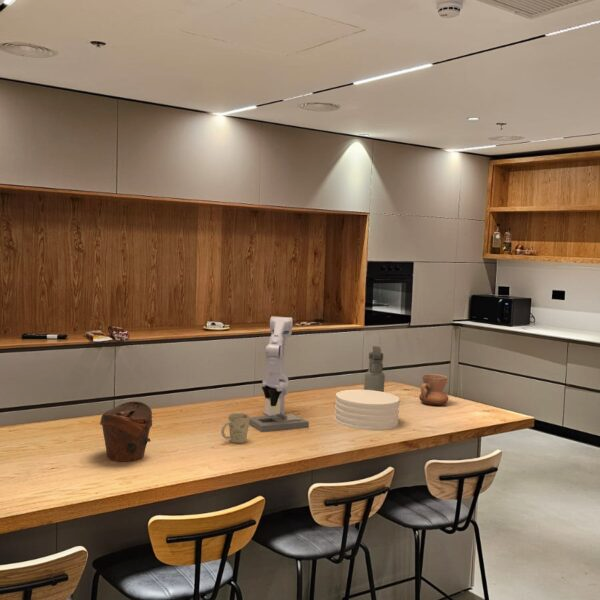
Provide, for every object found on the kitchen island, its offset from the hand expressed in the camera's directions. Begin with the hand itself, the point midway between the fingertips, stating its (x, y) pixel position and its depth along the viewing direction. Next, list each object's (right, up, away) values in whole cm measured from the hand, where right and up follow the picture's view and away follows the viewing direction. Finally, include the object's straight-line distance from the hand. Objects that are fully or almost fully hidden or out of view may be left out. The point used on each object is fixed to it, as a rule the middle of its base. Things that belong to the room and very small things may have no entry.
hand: (271, 404), depth 295 cm
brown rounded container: (-49, -11, -49) cm, 70 cm away
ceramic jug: (+79, -9, +59) cm, 99 cm away
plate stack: (+41, -10, +17) cm, 46 cm away
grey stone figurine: (+48, -8, +53) cm, 72 cm away
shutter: (+7, -7, +5) cm, 11 cm away
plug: (0, -4, +1) cm, 4 cm away
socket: (+3, -9, +3) cm, 10 cm away
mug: (-13, -11, -24) cm, 30 cm away
